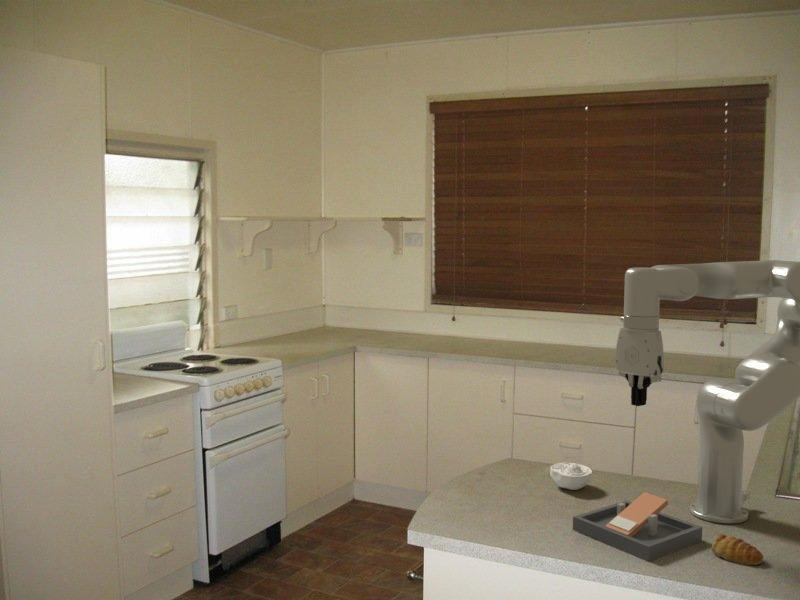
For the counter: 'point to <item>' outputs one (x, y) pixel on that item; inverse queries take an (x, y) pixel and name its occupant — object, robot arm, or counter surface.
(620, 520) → the rocker
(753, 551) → the pastry
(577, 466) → the cell model
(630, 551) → the breaker panel
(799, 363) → the robot arm
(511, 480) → the counter surface
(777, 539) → the counter surface
